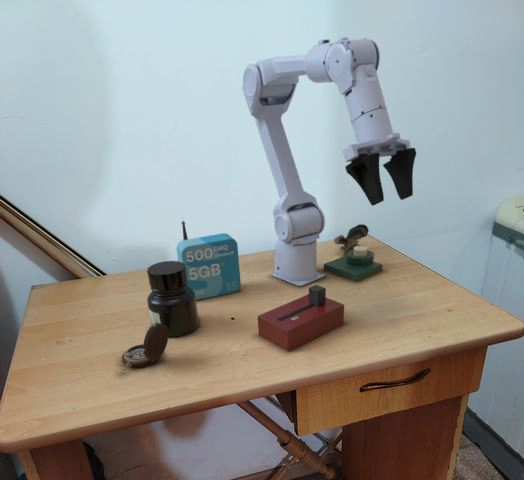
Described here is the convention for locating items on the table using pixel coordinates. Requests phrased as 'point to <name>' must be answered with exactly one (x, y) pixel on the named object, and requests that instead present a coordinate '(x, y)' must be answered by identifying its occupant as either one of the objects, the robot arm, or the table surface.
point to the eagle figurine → (352, 237)
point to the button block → (354, 266)
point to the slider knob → (317, 295)
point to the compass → (147, 348)
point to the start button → (360, 251)
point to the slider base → (299, 322)
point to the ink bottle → (172, 298)
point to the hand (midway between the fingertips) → (392, 200)
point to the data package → (210, 264)
